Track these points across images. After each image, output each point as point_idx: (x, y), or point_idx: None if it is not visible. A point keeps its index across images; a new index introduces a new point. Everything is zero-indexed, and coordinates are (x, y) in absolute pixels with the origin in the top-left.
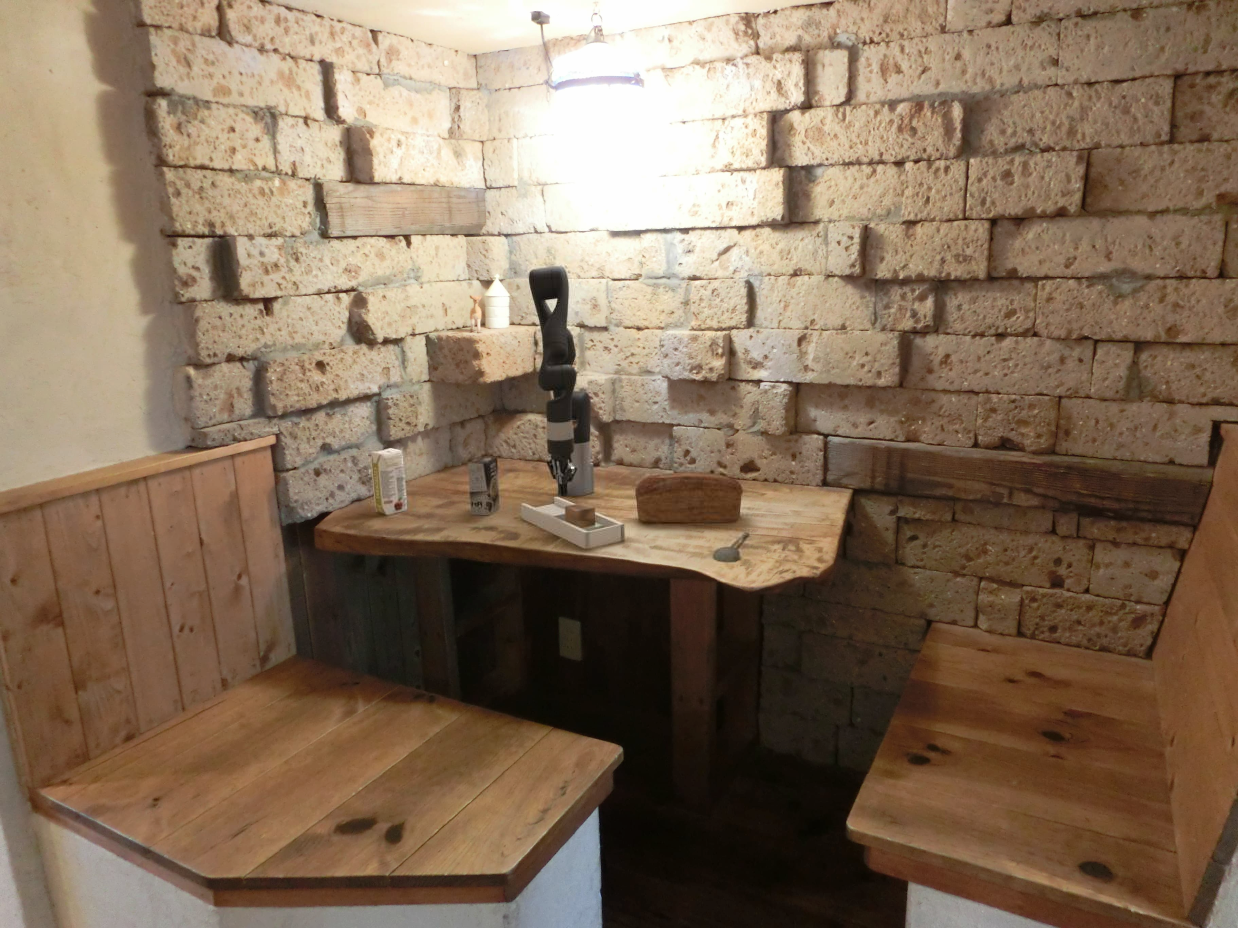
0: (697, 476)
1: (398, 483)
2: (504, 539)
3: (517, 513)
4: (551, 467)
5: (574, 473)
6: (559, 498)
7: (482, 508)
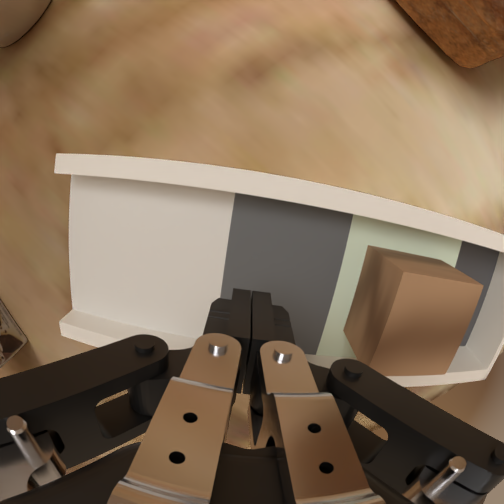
0: None
1: None
2: (235, 442)
3: (39, 279)
4: (76, 461)
5: (460, 433)
6: (82, 163)
7: (11, 356)
